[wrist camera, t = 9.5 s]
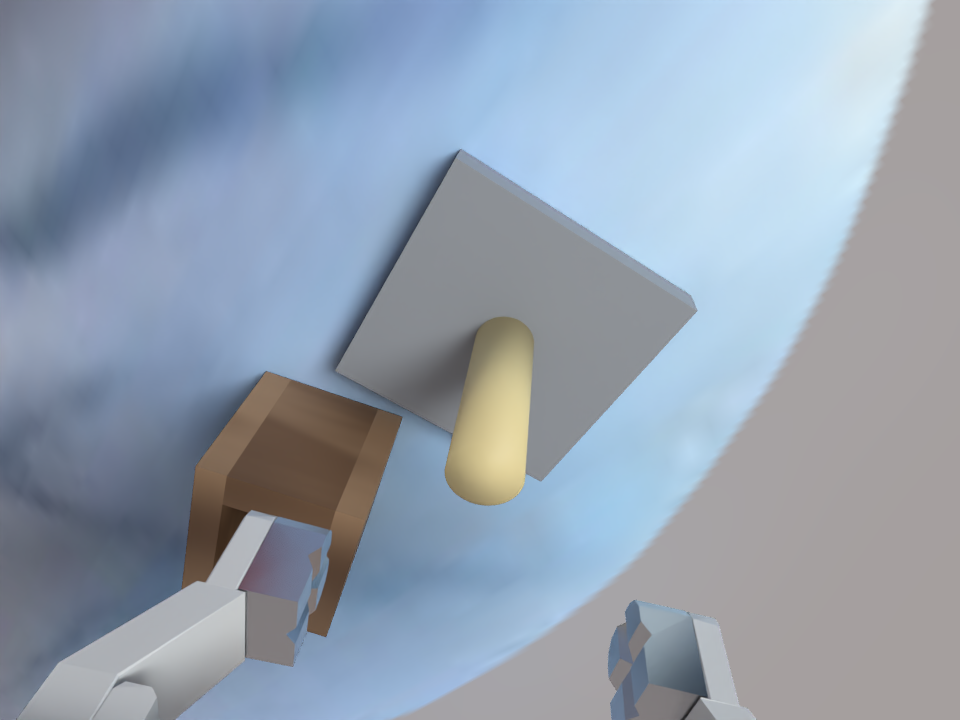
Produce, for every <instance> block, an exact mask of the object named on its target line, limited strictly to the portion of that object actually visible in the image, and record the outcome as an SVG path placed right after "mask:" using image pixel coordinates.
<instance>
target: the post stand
mask: <svg viewBox="0 0 960 720" xmlns="http://www.w3.org/2000/svg"><path fill="white" fill-rule="evenodd" d="M696 312H697V309H696V306H695V304H694V302H693V299H692V297H691V295H689V294H687V293H686V292H684V291H683V290H681V289H680V288H678V287H677V286H675V285H673V284H672V283H670V282H669V281H667V280H666V279H664V278H662V277H661V276H659V275H658V274H656V273H655V272H653V271H651V270H650V269H648V268H647V267H645V266H644V265H642V264H640V263H639V262H637V261H636V260H634V259H633V258H631V257H629V256H628V255H626V254H625V253H623V252H622V251H620V250H619V249H617V248H615V247H614V246H612V245H611V244H609V243H608V242H606V241H604V240H603V239H601V238H600V237H598V236H597V235H595V234H593V233H592V232H590V231H589V230H587V229H586V228H584V227H582V226H581V225H579V224H578V223H576V222H575V221H573V220H572V219H570V218H568V217H567V216H565V215H564V214H562V213H561V212H559V211H557V210H556V209H554V208H553V207H551V206H550V205H548V204H546V203H545V202H543V201H542V200H540V199H539V198H537V197H535V196H534V195H532V194H531V193H529V192H528V191H526V190H525V189H523V188H521V187H520V186H518V185H517V184H515V183H514V182H512V181H510V180H509V179H507V178H506V177H504V176H503V175H501V174H499V173H498V172H496V171H495V170H493V169H492V168H490V167H488V166H487V165H485V164H484V163H482V162H481V161H479V160H477V159H476V158H474V157H473V156H471V155H470V154H468V153H467V152H465V151H463V150H462V149H460V151H459V153H458V155H457V156H456V158H455V160H454V162H453V163H452V165H451V167H450V169H449V170H448V172H447V174H446V176H445V178H444V179H443V181H442V183H441V185H440V186H439V188H438V190H437V192H436V193H435V195H434V197H433V199H432V200H431V202H430V204H429V206H428V208H427V209H426V211H425V213H424V215H423V216H422V218H421V220H420V222H419V223H418V225H417V227H416V229H415V230H414V232H413V234H412V236H411V238H410V239H409V241H408V243H407V245H406V246H405V248H404V250H403V252H402V253H401V255H400V257H399V259H398V260H397V262H396V264H395V266H394V268H393V269H392V271H391V273H390V275H389V276H388V278H387V280H386V282H385V283H384V285H383V287H382V289H381V290H380V292H379V294H378V296H377V298H376V299H375V301H374V303H373V305H372V306H371V308H370V310H369V312H368V313H367V315H366V317H365V319H364V320H363V322H362V324H361V326H360V328H359V329H358V331H357V333H356V335H355V336H354V338H353V340H352V342H351V343H350V345H349V347H348V349H347V350H346V352H345V354H344V356H343V358H342V359H341V361H340V363H339V365H338V366H337V368H336V370H335V371H336V372H338V373H340V374H341V375H343V376H345V377H347V378H349V379H351V380H353V381H354V382H356V383H358V384H360V385H362V386H364V387H366V388H368V389H369V390H371V391H373V392H375V393H377V394H379V395H381V396H382V397H384V398H386V399H388V400H390V401H392V402H394V403H395V404H397V405H399V406H401V407H403V408H405V409H407V410H408V411H410V412H412V413H414V414H416V415H418V416H420V417H422V418H423V419H425V420H427V421H429V422H431V423H433V424H435V425H436V426H438V427H440V428H442V429H444V430H446V431H448V432H449V433H451V434H453V436H452V440H451V445H450V449H449V453H448V457H447V462H446V466H445V478H446V481H447V483H448V485H449V487H450V488H451V489H452V491H453V492H454V493H456V494H457V495H458V496H459V497H461V498H462V499H464V500H466V501H469V502H471V503H474V504H479V505H498V504H502V503H505V502H508V501H510V500H511V499H513V498H514V497H516V496H517V495H518V494H519V492H520V491H521V490H522V488H523V485H524V482H525V473H526V474H528V475H530V476H531V477H533V478H535V479H537V480H539V481H542V480H543V479H544V478H545V477H546V476H547V475H548V473H549V472H550V471H551V470H552V469H553V468H554V467H555V466H556V465H557V464H558V463H559V461H560V460H561V459H562V458H563V457H564V456H565V455H566V454H567V453H568V452H569V451H570V449H571V448H572V447H573V446H574V445H575V444H576V443H577V442H578V441H579V440H580V439H581V437H582V436H583V435H584V434H585V433H586V432H587V431H588V430H589V429H590V428H591V426H592V425H593V424H594V423H595V422H596V421H597V420H598V419H599V418H600V417H601V416H602V414H603V413H604V412H605V411H606V410H607V409H608V408H609V407H610V406H611V405H612V404H613V402H614V401H615V400H616V399H617V398H618V397H619V396H620V395H621V394H622V393H623V392H624V390H625V389H626V388H627V387H628V386H629V385H630V384H631V383H632V382H633V381H634V380H635V378H636V377H637V376H638V375H639V374H640V373H641V372H642V371H643V370H644V369H645V368H646V366H647V365H648V364H649V363H650V362H651V361H652V360H653V359H654V358H655V357H656V356H657V354H658V353H659V352H660V351H661V350H662V349H663V348H664V347H665V346H666V345H667V344H668V342H669V341H670V340H671V339H672V338H673V337H674V336H675V335H676V334H677V333H678V331H679V330H680V329H681V328H682V327H683V326H684V325H685V324H686V323H687V322H688V321H689V319H690V318H691V317H692V316H693V315H694V314H695V313H696Z"/></svg>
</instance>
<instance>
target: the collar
mask: <svg viewBox="0 0 960 720" xmlns="http://www.w3.org/2000/svg"><path fill="white" fill-rule="evenodd" d="M401 420H402V417H401V416H398V415H395V414H392V413H389V412H386V411H383V410H380V409H377V408H374V407H371V406H368V405H365V404H362V403H359V402H356V401H353V400H350V399H347V398H344V397H341V396H338V395H335V394H332V393H329V392H326V391H323V390H321V389H318V388H315V387H312V386H309V385H306V384H303V383H300V382H297V381H294V380H291V379H288V378H285V377H282V376H279V375H276V374H273V373H270V372H267V371H266V372H265V374H264V375H263V376H262V378H261V379H260V380H259V382H258V383H257V385H256V386H255V387H254V389H253V390H252V391H251V393H250V394H249V395H248V397H247V398H246V399H245V401H244V402H243V403H242V405H241V406H240V407H239V409H238V410H237V411H236V413H235V414H234V415H233V417H232V418H231V419H230V421H229V422H228V423H227V425H226V426H225V427H224V429H223V430H222V431H221V433H220V434H219V435H218V437H217V438H216V439H215V441H214V442H213V444H212V445H211V446H210V448H209V449H208V450H207V452H206V453H205V454H204V456H203V457H202V458H201V460H200V461H199V462H198V464H197V465H196V467H195V476H194V485H193V494H192V503H191V511H190V520H189V529H188V538H187V546H186V555H185V564H184V573H183V581H182V589H184V588H186V587H187V586H189V585H191V584H192V583H194V582H196V581H201V582H206V580H207V579H208V577H209V575H210V574H211V572H212V570H213V569H214V567H215V565H216V563H217V562H218V560H219V558H220V557H221V555H222V553H223V552H224V550H225V548H226V547H227V545H228V543H229V542H230V540H231V538H232V537H233V535H234V533H235V532H236V530H237V528H238V527H239V525H240V523H241V522H242V520H243V518H244V517H245V516H246V515H247V514H248V513H249V512H250V511H251V510H253V511H257V512H261V513H266V514H270V515H274V516H278V517H282V518H286V519H290V520H294V521H297V522H301V523H305V524H309V525H313V526H317V527H320V528H324V529H328V530H331V531H332V537H331V545H330V547H329V550H328V552H327V555H326V556H327V557H328V559H329V565H328V571H327V576H326V581H325V584H324V587H323V590H322V594H321V597H320V600H319V602H318V605H317V608H316V610H315V611H314V612H313V613H311V614H310V615H309V616H308V625H307V631H308V632H311V633H315V634H318V635H321V636H324V637H326V636H327V633H328V630H329V628H330V625H331V622H332V619H333V616H334V614H335V611H336V608H337V605H338V602H339V599H340V597H341V594H342V591H343V588H344V585H345V582H346V580H347V577H348V574H349V571H350V568H351V565H352V563H353V560H354V557H355V554H356V551H357V549H358V546H359V543H360V540H361V537H362V534H363V532H364V529H365V526H366V523H367V520H368V517H369V514H370V511H371V508H372V505H373V502H374V499H375V496H376V494H377V491H378V488H379V485H380V482H381V479H382V476H383V473H384V470H385V467H386V464H387V461H388V458H389V455H390V452H391V450H392V447H393V444H394V441H395V438H396V435H397V432H398V429H399V426H400V423H401Z"/></svg>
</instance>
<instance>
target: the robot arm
mask: <svg viewBox="0 0 960 720" xmlns="http://www.w3.org/2000/svg"><path fill="white" fill-rule="evenodd" d="M331 537H332V531H331V530H328V529H324V528H320V527H317V526H313V525H309V524H305V523H301V522H297V521H294V520H290V519H286V518H282V517H278V516H274V515H270V514H266V513H261V512H257V511H253V510H251V511H250V512H249V513H248V514H247V515H246V516H245V517H244V518H243V520H242V522H241V523H240V525H239V527H238V528H237V530H236V532H235V533H234V535H233V537H232V538H231V540H230V542H229V543H228V545H227V547H226V548H225V550H224V552H223V553H222V555H221V557H220V558H219V560H218V562H217V563H216V565H215V567H214V569H213V570H212V572H211V574H210V575H209V577H208V579H207V580H206V582H201V581H196V582H194V583H192V584H191V585H189V586H187V587H186V588H184V589H182V590H180V591H179V592H177V593H175V594H174V595H172V596H170V597H169V598H167V599H165V600H164V601H162V602H160V603H159V604H157V605H155V606H153V607H152V608H150V609H148V610H147V611H145V612H143V613H142V614H140V615H138V616H137V617H135V618H133V619H131V620H130V621H128V622H126V623H125V624H123V625H121V626H120V627H118V628H116V629H115V630H113V631H111V632H109V633H108V634H106V635H104V636H103V637H101V638H99V639H98V640H96V641H94V642H93V643H91V644H89V645H88V646H86V647H84V648H82V649H81V650H79V651H77V652H76V653H74V654H72V655H71V656H69V657H67V658H66V659H64V660H62V661H60V662H59V663H58V664H57V665H56V667H55V668H54V669H53V671H52V672H51V673H50V675H49V676H48V677H47V679H46V680H45V682H44V683H43V684H42V686H41V687H40V688H39V690H38V691H37V692H36V694H35V695H34V696H33V698H32V699H31V700H30V702H29V703H28V704H27V706H26V707H25V708H24V710H23V711H22V712H21V714H20V715H19V716H18V718H17V719H16V720H175V719H176V718H177V717H179V716H180V715H181V714H182V713H183V712H184V711H186V710H187V709H188V708H189V707H190V706H192V705H193V704H194V703H195V702H196V701H197V700H199V699H200V698H201V697H202V696H203V695H205V694H206V693H207V692H208V691H209V690H210V689H212V688H213V687H214V686H215V685H216V684H218V683H219V682H220V681H221V680H222V679H224V678H225V677H226V676H227V675H228V674H229V673H231V672H232V671H233V670H234V669H235V668H237V667H238V666H239V665H240V664H241V663H242V662H244V661H245V657H246V658H251V659H256V660H261V661H266V662H271V663H276V664H281V665H286V666H291V667H293V666H294V663H295V661H296V658H297V656H298V653H299V651H300V648H301V646H302V643H303V641H304V638H305V636H306V633H307V625H308V616H309V615H310V614H311V613H313V612H314V611H315V610H316V608H317V605H318V602H319V600H320V597H321V594H322V590H323V587H324V584H325V581H326V576H327V571H328V565H329V559H328V557H327V556H326V555H327V552H328V550H329V547H330V545H331ZM625 615H626V623H624V624H622V625H619V626H617V628H616V630H615V633H614V635H613V637H612V640H611V644H610V649H609V656H608V674H609V679H610V681H611V683H612V684H613V686H614V687H615V689H616V690H617V692H616V694H615V696H614V698H613V699H612V701H611V703H610V705H611V718H612V720H757V719H756V718H755V717H754V715H753V714H752V713H751V712H750V710H749V709H748V708H745V707H742V706H740V705H739V701H738V698H737V694H736V690H735V686H734V682H733V678H732V674H731V670H730V666H729V662H728V658H727V654H726V650H725V646H724V642H723V638H722V634H721V630H720V627H719V624H718V622H717V621H716V619H715V618H711V617H706V616H702V615H698V614H693V613H690V612H685V611H683V610H678V609H674V608H669V607H665V606H660V605H656V604H651V603H647V602H642V601H637V600H634V601H632V602H631V603H630V604H629V606H628V607H627V609H626V611H625Z"/></svg>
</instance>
